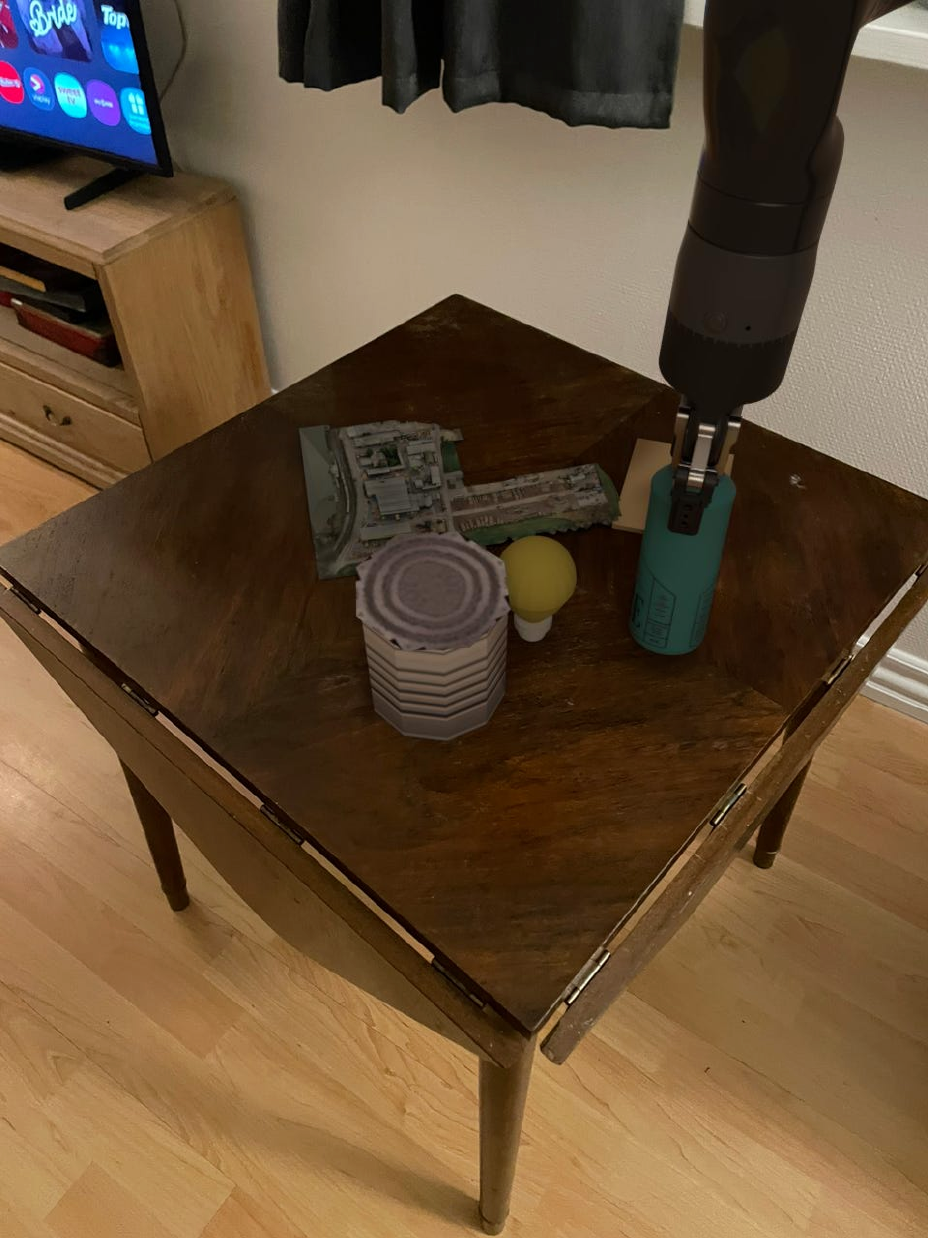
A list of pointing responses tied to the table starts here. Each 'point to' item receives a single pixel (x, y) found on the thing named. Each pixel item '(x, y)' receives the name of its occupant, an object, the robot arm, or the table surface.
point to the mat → (644, 483)
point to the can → (434, 632)
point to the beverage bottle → (677, 570)
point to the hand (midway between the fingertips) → (682, 527)
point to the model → (430, 493)
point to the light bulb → (537, 583)
